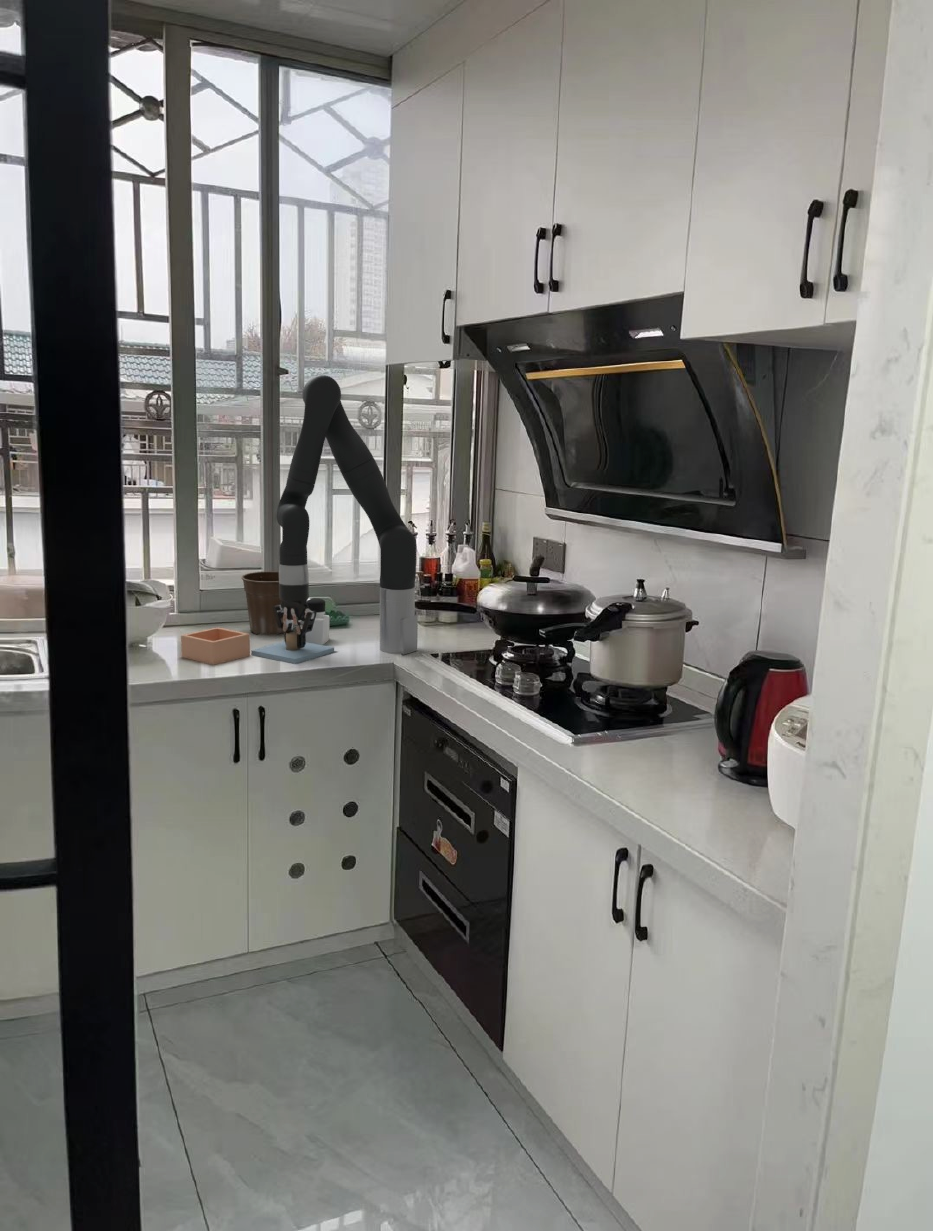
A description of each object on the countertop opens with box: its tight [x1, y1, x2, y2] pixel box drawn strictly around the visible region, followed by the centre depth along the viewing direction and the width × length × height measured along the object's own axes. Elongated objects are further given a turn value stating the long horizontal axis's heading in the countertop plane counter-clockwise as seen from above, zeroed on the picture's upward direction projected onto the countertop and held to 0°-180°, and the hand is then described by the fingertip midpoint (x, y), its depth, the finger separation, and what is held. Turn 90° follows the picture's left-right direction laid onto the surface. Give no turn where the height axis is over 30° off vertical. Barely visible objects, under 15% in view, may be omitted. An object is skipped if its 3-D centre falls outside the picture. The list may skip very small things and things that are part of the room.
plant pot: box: [241, 570, 295, 636], centre depth 276 cm, size 16×16×16 cm
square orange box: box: [180, 626, 251, 666], centre depth 247 cm, size 12×12×6 cm
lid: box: [250, 631, 335, 665], centre depth 251 cm, size 15×15×5 cm
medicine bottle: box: [299, 597, 331, 645], centre depth 264 cm, size 7×7×12 cm
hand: (295, 646), depth 252 cm, fingers closed on lid, 3 cm apart
